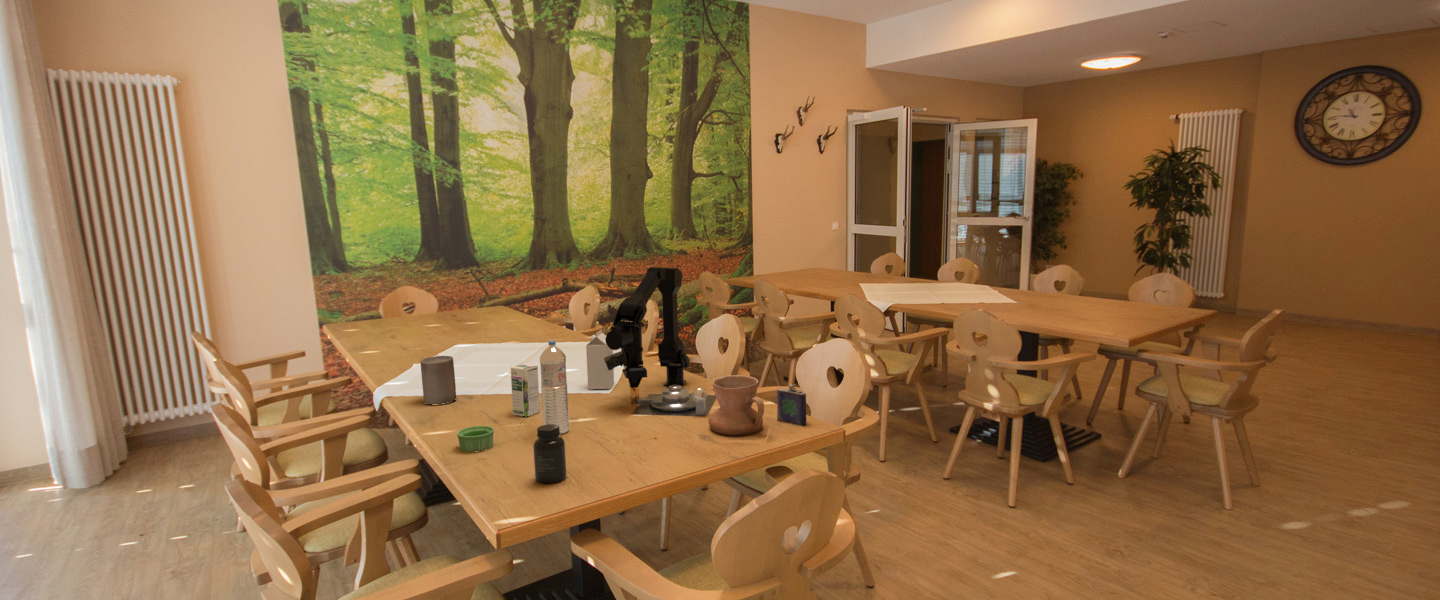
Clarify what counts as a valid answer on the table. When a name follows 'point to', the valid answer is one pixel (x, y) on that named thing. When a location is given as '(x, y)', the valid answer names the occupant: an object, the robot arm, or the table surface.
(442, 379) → the pillar candle
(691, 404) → the turntable
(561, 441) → the supplement bottle
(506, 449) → the table surface
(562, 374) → the water bottle
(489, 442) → the ramekin
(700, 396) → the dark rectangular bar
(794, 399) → the flask
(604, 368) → the milk carton
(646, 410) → the base plate
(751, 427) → the ceramic jug
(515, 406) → the syrup box
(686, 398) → the cover
